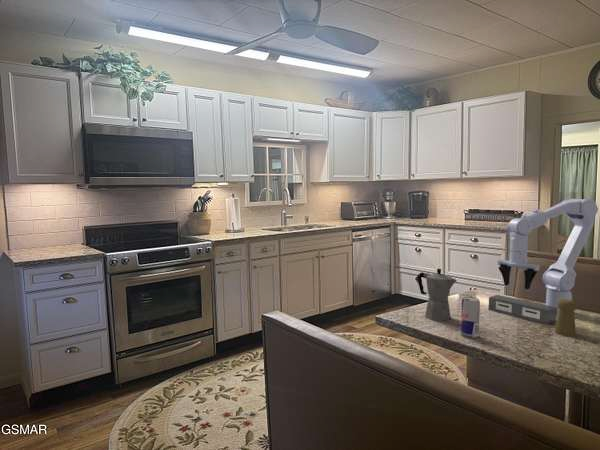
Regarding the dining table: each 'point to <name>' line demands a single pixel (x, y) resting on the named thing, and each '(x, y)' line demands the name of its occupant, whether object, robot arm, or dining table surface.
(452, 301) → the dining table surface
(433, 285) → the coffeepot
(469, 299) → the energy drink
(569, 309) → the cork
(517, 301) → the dark gray slotted box
